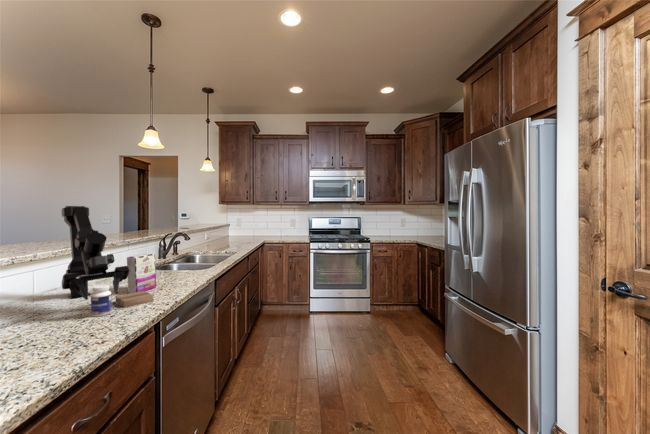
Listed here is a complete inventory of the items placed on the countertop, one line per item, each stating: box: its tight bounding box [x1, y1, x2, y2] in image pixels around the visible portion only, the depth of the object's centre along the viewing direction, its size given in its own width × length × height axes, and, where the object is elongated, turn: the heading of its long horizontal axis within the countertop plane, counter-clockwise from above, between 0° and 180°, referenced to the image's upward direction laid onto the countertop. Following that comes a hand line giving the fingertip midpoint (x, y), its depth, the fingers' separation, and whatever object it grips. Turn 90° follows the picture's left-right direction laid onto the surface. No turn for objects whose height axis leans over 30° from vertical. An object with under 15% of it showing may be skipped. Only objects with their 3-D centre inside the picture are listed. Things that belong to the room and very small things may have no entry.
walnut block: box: [115, 291, 154, 309], centre depth 113 cm, size 10×10×2 cm
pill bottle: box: [90, 284, 113, 317], centre depth 100 cm, size 6×6×10 cm
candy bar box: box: [126, 252, 157, 294], centre depth 129 cm, size 11×5×16 cm, turn 168°
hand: (102, 296), depth 99 cm, fingers open, 8 cm apart
